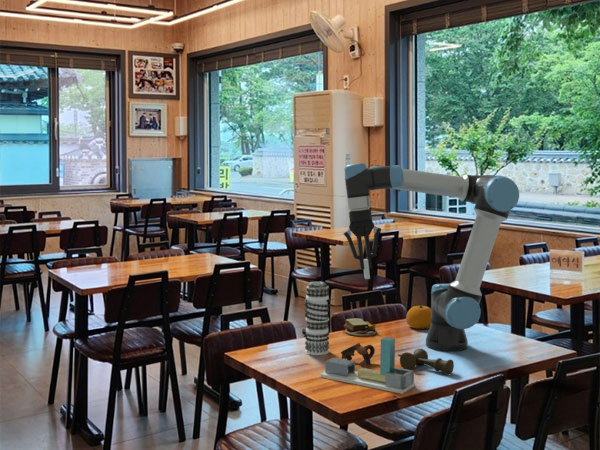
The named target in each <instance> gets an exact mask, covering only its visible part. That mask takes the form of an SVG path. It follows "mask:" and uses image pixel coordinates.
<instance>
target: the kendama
mask: <svg viewBox="0 0 600 450" xmlns="http://www.w3.org/2000/svg"><path fill="white" fill-rule="evenodd" d="M397 356H398V357H399V363H400V366H401V367H400V368H402V369H407V370H413V371H414V369H415V368H416V364H417V365H422V366H423V365H426V366H428V367H431V368H433V369H434V370H435V372H443V373H444V374H445V375H446V376H450V375H451V374H453V372H454V367H455V364H454V361H453V359H448V360H444V359H442V358H440V357H439V358H437V359H436V358H435V359H429V354H428V352H427V351H426V350H425V349H423V348H416V349H415V350H414V351H413V353H411V352H403V353H401V354H397ZM449 374H450V375H449Z"/></svg>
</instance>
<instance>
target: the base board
mask: <svg viewBox="0 0 600 450" xmlns="http://www.w3.org/2000/svg"><path fill="white" fill-rule="evenodd" d="M320 378H325V379H328V380H332V381H339V382H343V383H347V384H353V385H356V386H357V385H358V386H362V387H368V388H372V389H376V390H382V391H387V392H391V393H397V394H401V395H403V394H404V393H406V392H408V391H409V390H411V389H413V388H414V387H416V382H414V384H412V385H410V386H409V387H407V388H405V389H404V390H403V389H398V388H393V387H388V386H385V382H380V381H375V380H370V379H365V378H360V377H358V370H355V373H354V374H353V373H348V377H344V376H339V375H334V374H329V373H325V371H324V372H322V373H320Z"/></svg>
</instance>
